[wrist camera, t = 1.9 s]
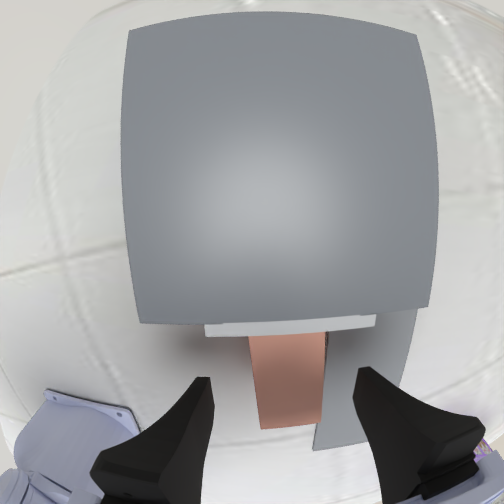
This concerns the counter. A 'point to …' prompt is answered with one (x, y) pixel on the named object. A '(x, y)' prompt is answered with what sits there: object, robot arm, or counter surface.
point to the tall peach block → (288, 378)
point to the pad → (346, 367)
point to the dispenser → (277, 173)
